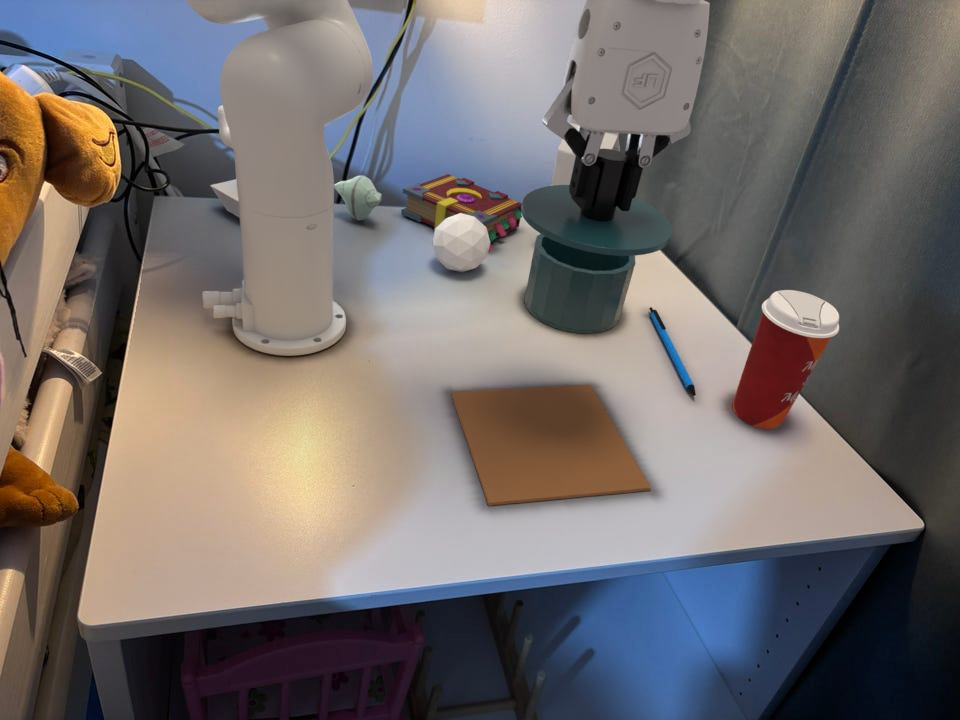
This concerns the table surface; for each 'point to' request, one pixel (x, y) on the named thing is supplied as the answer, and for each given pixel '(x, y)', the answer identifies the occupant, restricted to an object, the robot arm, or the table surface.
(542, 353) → the table surface
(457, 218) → the geometric ball
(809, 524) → the table surface
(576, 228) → the lid
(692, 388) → the pen
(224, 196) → the figurine
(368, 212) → the pale green seashell
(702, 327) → the table surface
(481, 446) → the mat
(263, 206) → the robot arm
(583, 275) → the pot
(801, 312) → the paper cup
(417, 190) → the decorative book
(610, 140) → the milk carton
